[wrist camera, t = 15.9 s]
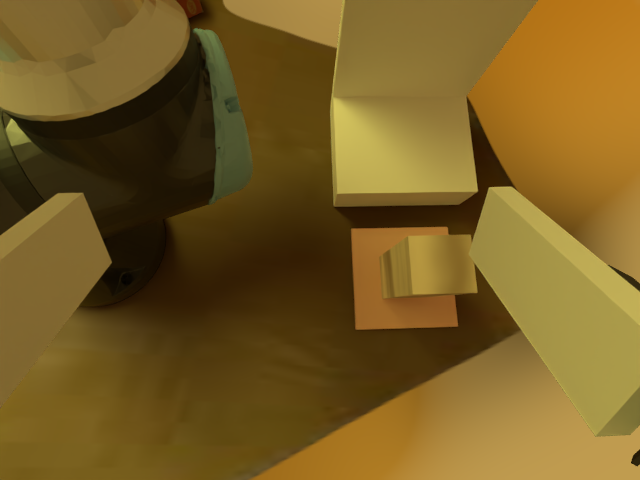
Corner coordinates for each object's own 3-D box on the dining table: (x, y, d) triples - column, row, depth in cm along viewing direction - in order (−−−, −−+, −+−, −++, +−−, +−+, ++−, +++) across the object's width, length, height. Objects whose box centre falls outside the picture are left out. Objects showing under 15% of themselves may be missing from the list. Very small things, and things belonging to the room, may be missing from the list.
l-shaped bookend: (333, 206, 43) (365, 82, 19) (330, 109, 45) (354, -105, 22) (458, 204, 43) (637, 81, 20) (447, 109, 46) (594, -100, 22)
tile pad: (355, 329, 40) (356, 329, 39) (350, 229, 42) (351, 228, 42) (455, 326, 40) (458, 326, 40) (445, 227, 43) (447, 226, 42)
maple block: (381, 298, 40) (412, 294, 28) (379, 256, 41) (408, 235, 29) (427, 297, 40) (477, 292, 29) (424, 255, 41) (470, 234, 29)
